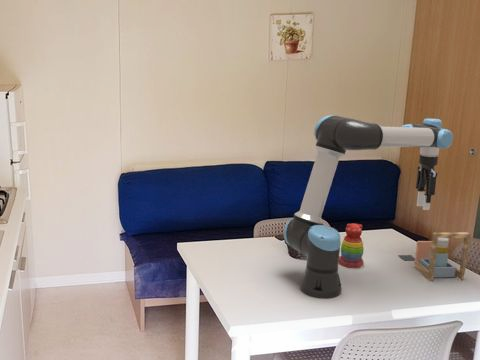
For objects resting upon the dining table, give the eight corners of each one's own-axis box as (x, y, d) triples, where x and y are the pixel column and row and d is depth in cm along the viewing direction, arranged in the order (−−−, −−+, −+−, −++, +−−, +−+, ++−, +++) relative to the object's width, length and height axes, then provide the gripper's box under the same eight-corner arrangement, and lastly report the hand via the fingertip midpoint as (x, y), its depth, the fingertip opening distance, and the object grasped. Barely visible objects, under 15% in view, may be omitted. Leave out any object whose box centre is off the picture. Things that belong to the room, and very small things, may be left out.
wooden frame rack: (429, 281, 216) (435, 234, 211) (413, 267, 230) (418, 223, 225) (464, 280, 218) (470, 233, 213) (446, 267, 232) (451, 222, 227)
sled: (431, 277, 219) (433, 256, 217) (411, 260, 237) (413, 241, 235) (454, 276, 221) (457, 255, 219) (433, 260, 238) (435, 240, 236)
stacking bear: (362, 260, 236) (365, 220, 232) (365, 269, 226) (369, 228, 222) (337, 258, 237) (340, 219, 233) (338, 267, 227) (342, 226, 223)
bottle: (448, 276, 221) (452, 241, 218) (430, 275, 222) (435, 240, 218) (442, 270, 228) (446, 235, 225) (425, 269, 228) (429, 235, 225)
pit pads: (403, 260, 237) (403, 260, 237) (398, 255, 243) (398, 255, 243) (438, 260, 240) (438, 259, 239) (432, 255, 245) (432, 254, 245)
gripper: (448, 159, 224) (441, 213, 229) (427, 151, 242) (421, 202, 247) (430, 159, 223) (424, 213, 228) (411, 151, 241) (405, 202, 246)
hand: (423, 207), depth 237 cm, fingers open, 5 cm apart
